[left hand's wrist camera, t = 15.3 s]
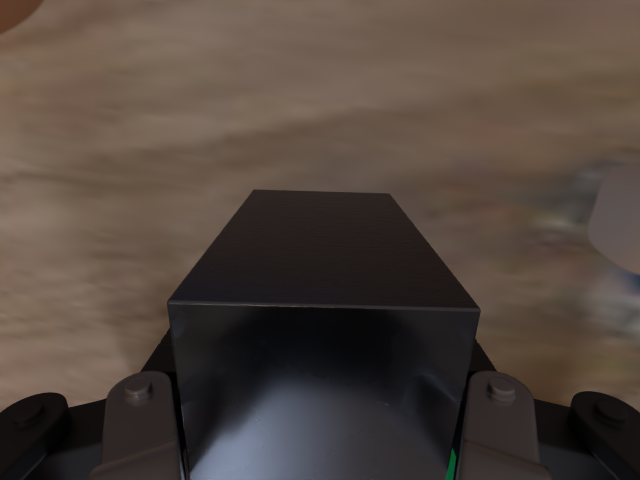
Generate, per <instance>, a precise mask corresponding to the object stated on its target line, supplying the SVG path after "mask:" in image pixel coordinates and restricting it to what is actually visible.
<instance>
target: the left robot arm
mask: <svg viewBox="0 0 640 480" xmlns="http://www.w3.org/2000/svg"><path fill="white" fill-rule="evenodd" d="M452 448H453V451H454V453H455V456H456V460H455V466H454V473H453V480H640V413H639V412H638V411H637V410H635V409H634V408H633V407H631V406H630V405H628V404H627V403H625V402H623V401H621V400H619V399H617V398H615V397H612V396H609V395H607V394H603V393H599V392H591V391H584V392H579V393H577V394H576V395H574V397H573V399H572V402H571V405H570V407H567V406H562V405H558V404H554V403H549V402H545V401H541V400H537V399H533V396H532V394H531V392H530V391H529V389H528V388H527V387H526V386H525V385H524V384H523V383H521V382H520V381H518V380H517V379H515V378H513V377H511V376H509V375H507V374H504V373H501V372H497V371H496V369H495V367H494V366H493V364H492V363H491V361H490V360H489V358H488V357H487V355H486V354H485V352H484V351H483V349H482V348H481V346H480V345H479V343H477V340H476V339H475V341H474V346H473V351H472V355H471V360H470V365H469V370H468V375H467V379H466V384H465V389H464V394H463V399H462V404H461V408H460V413H459V418H458V423H457V428H456V432H455V437H454V442H453V447H452ZM0 480H190V477H189V469H188V462H187V454H186V446H185V438H184V431H183V423H182V415H181V407H180V400H179V392H178V384H177V376H176V369H175V361H174V353H173V345H172V338H171V330H170V328H169V330H168V331H167V334H166V335H165V336H164V337H163V339H162V340H161V343H160V344H159V345H158V346H157V348H156V349H155V351H154V352H153V354H152V355H151V357H150V358H149V360H148V361H147V363H146V364H145V366H144V367H143V369H142V370H141V372H139V373H136V374H133V375H131V376H129V377H127V378H125V379H123V380H122V381H120V382H119V383H117V384H116V385H115V386H114V387H113V388H112V389H111V391H110V392H109V394H108V396H107V398H106V399H103V400H100V401H96V402H92V403H87V404H83V405H78V406H74V407H70V408H69V407H68V404H67V401H66V399H65V397H64V396H63V395H61V394H58V393H41V394H36V395H33V396H30V397H27V398H24V399H22V400H20V401H18V402H16V403H14V404H12V405H11V406H9V407H7V408H6V409H5V410H3V411H2V412H1V413H0Z"/></svg>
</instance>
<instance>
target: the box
mask: <svg viewBox="0 0 640 480" xmlns="http://www.w3.org/2000/svg"><path fill="white" fill-rule="evenodd" d="M167 307H168V314H169V322H170V330H171V338H172V345H173V353H174V361H175V369H176V376H177V384H178V392H179V400H180V407H181V415H182V423H183V431H184V438H185V446H186V454H187V462H188V469H189V477H190V480H446V476H447V471H448V466H449V461H450V457H451V452H452V447H453V442H454V437H455V432H456V428H457V423H458V418H459V413H460V408H461V404H462V399H463V394H464V389H465V384H466V379H467V375H468V370H469V365H470V360H471V355H472V351H473V346H474V341H475V336H476V331H477V326H478V322H479V317H480V312H481V310H480V308H479V307H478V305H477V304H476V303H475V302H474V300H473V299H472V298H471V296H470V295H469V294H468V293H467V291H466V290H465V289H464V288H463V286H462V285H461V284H460V282H459V281H458V280H457V279H456V277H455V276H454V275H453V274H452V272H451V271H450V270H449V269H448V267H447V266H446V265H445V263H444V262H443V261H442V260H441V258H440V257H439V256H438V255H437V253H436V252H435V251H434V249H433V248H432V247H431V246H430V244H429V243H428V242H427V241H426V239H425V238H424V237H423V236H422V234H421V233H420V232H419V230H418V229H417V228H416V227H415V225H414V224H413V223H412V222H411V220H410V219H409V218H408V216H407V215H406V214H405V213H404V211H403V210H402V209H401V208H400V206H399V205H398V204H397V203H396V201H395V200H394V199H393V197H392V196H391V195H390V194H387V193H353V192H319V191H285V190H253V191H252V193H251V194H250V195H249V196H248V198H247V199H246V200H245V202H244V203H243V204H242V205H241V207H240V208H239V209H238V211H237V212H236V213H235V214H234V216H233V217H232V218H231V220H230V221H229V222H228V223H227V225H226V226H225V227H224V229H223V230H222V231H221V233H220V234H219V235H218V236H217V238H216V239H215V240H214V242H213V243H212V244H211V245H210V247H209V248H208V249H207V251H206V252H205V253H204V254H203V256H202V257H201V258H200V260H199V261H198V262H197V263H196V265H195V266H194V267H193V269H192V270H191V271H190V272H189V274H188V275H187V276H186V278H185V279H184V280H183V281H182V283H181V284H180V285H179V287H178V288H177V289H176V290H175V292H174V293H173V294H172V296H171V297H170V298H169V299H168V301H167Z"/></svg>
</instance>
